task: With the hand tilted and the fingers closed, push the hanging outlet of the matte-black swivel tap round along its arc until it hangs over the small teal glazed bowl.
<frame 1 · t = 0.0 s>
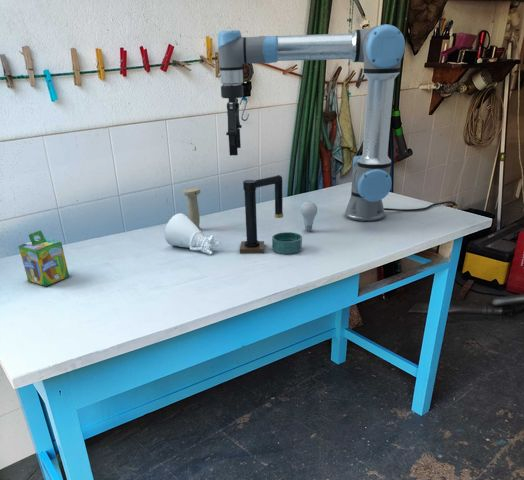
hand: (235, 151, 185), 28 cm above the workbench, tool pointing down, fingers open, 13 cm apart
lightbulb: (308, 231, 194), on the workbench
rocket engine: (191, 250, 181), on the workbench
basin: (287, 249, 178), on the workbench
black post: (252, 249, 180), on the workbench
spout: (264, 199, 175), point 16 cm above the workbench, hinge at 0.0°
handle: (195, 230, 200), on the workbench
chalk box: (49, 279, 162), on the workbench
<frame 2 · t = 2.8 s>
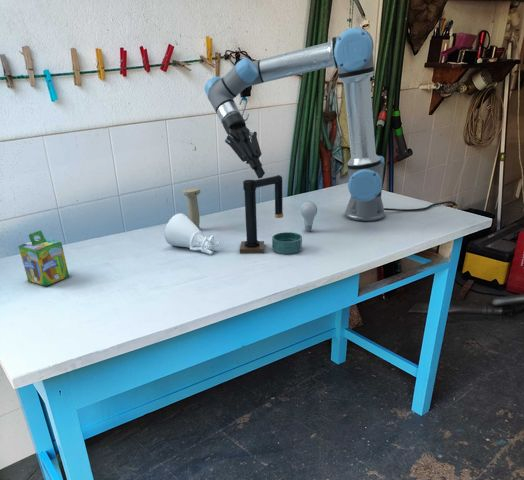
hand: (261, 175, 181), 21 cm above the workbench, tool tilted 45°, fingers closed
nothing on the workbench moved.
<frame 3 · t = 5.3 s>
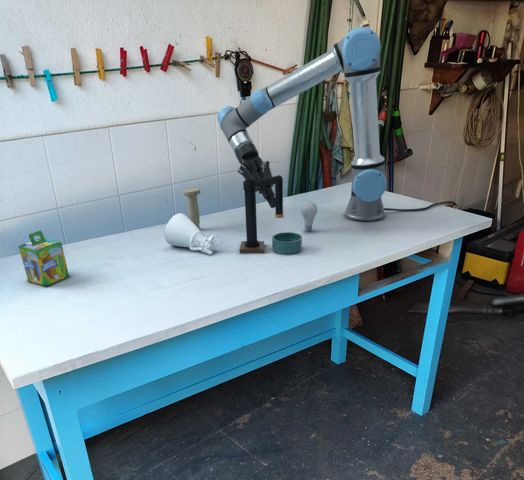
hand: (274, 205, 181), 12 cm above the workbench, tool tilted 45°, fingers closed
spout: (264, 200, 175), point 16 cm above the workbench, hinge at 1.1°, touching gripper
everything else where it was.
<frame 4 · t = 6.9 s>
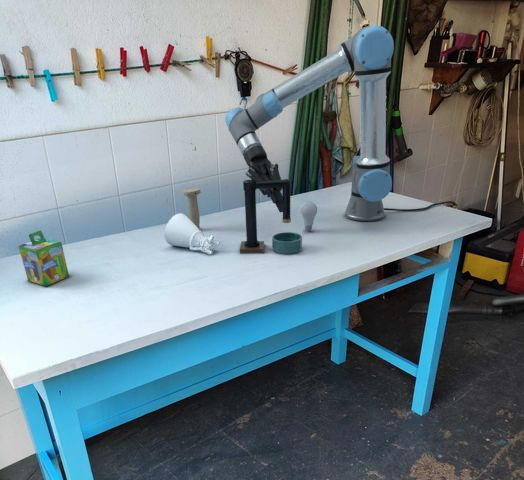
hand: (283, 209, 177), 12 cm above the workbench, tool tilted 45°, fingers closed
spout: (267, 202, 172), point 16 cm above the workbench, hinge at 31.2°, touching gripper
everything else where it was.
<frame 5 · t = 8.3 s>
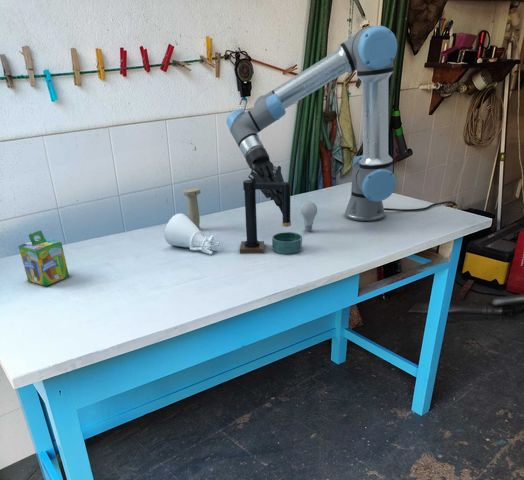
hand: (286, 212, 174), 12 cm above the workbench, tool tilted 45°, fingers closed
spout: (267, 203, 171), point 16 cm above the workbench, hinge at 49.8°
everything else where it was.
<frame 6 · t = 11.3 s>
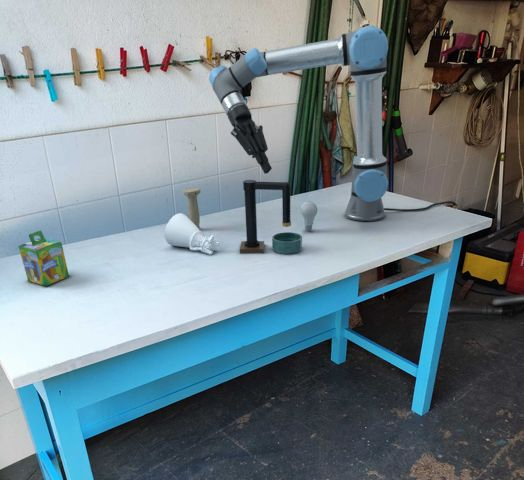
hand: (268, 171, 175), 24 cm above the workbench, tool tilted 45°, fingers closed
nothing on the workbench moved.
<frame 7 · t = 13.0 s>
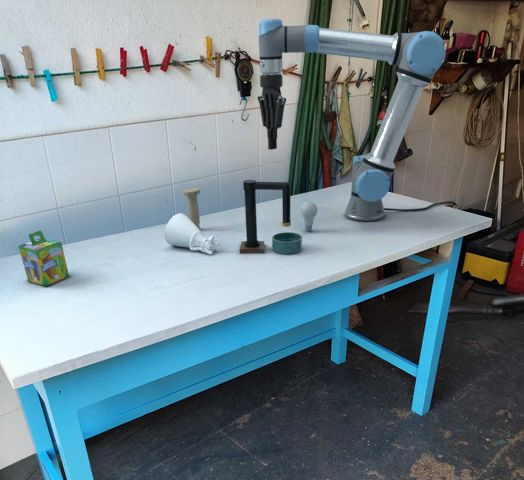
hand: (272, 148, 185), 28 cm above the workbench, tool pointing down, fingers closed
nothing on the workbench moved.
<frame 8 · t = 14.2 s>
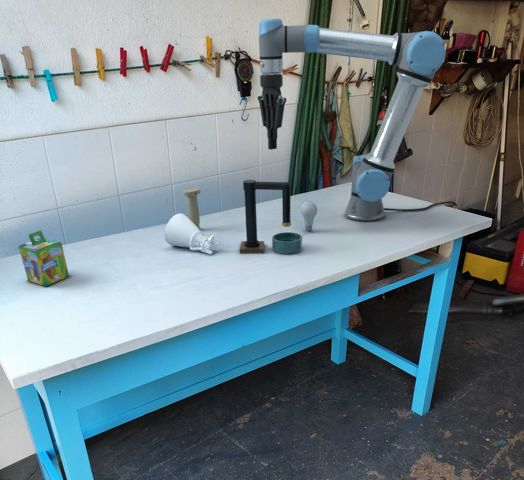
hand: (272, 148, 185), 28 cm above the workbench, tool pointing down, fingers closed
nothing on the workbench moved.
at the end: spout at +50° (first picture: +0°) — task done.
